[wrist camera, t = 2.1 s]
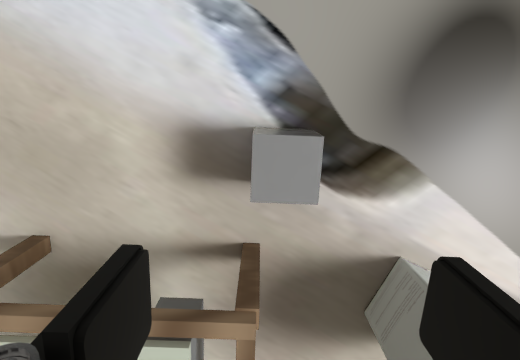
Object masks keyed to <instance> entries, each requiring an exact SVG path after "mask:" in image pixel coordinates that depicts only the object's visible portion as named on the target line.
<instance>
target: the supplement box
mask: <svg viewBox="0 0 520 360" xmlns="http://www.w3.org/2000/svg"><path fill="white" fill-rule="evenodd" d="M430 273H431V271H430V270H428V269H426V268H424V267H422V266H419V265H417V264H415V263H413V262H411V261H409V260H407V259H404V258H402V257H400V258H399V259H398V261H397V263H396V264H395V266H394V267H393V269H392V270H391V272H390V273H389V275H388V277H387V278H386V280H385V281H384V283H383V284H382V286H381V287H380V289H379V290H378V292H377V294H376V295H375V297H374V298H373V300H372V301H371V303H370V304H369V306H368V307H367V309H366V310H365V312H364V314H365V316H366V318H367V320H368V322H369V324H370V326H371V328H372V330H373V332H374V334H375V336H376V338H377V340H378V342H379V344H380V346H381V348H382V350H383V352H384V354H385V356H386V358H387V360H433V359H432V357H431V356H430V354H429V353H428V351H427V350H426V348H425V347H424V345H423V344H422V342H421V340H420V336H419V328H420V323H421V318H422V313H423V308H424V303H425V298H426V293H427V288H428V283H429V278H430Z"/></svg>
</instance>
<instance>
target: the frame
mask: <svg viewBox="0 0 520 360" xmlns="http://www.w3.org/2000/svg"><path fill="white" fill-rule="evenodd" d="M50 252H51V244H50V236H34V235H33V236H31V237H29V238H28V239H26V240H24V241H23V242H21V243H19V244H17V245H16V246H14V247H12V248H11V249H9V250H7V251H6V252H4V253H2V254H1V255H0V288H1V287H3V286H4V285H5V284H7V283H8V282H10V281H11V280H12V279H14V278H15V277H17V276H18V275H19V274H21V273H22V272H24V271H25V270H26V269H28V268H29V267H30V266H32V265H33V264H35V263H36V262H37V261H39V260H40V259H42V258H43V257H44V256H46V255H47V254H48V253H50ZM259 286H260V244H258V243H243V248H242V256H241V265H240V273H239V281H238V289H237V298H236V306H235V311H224V310H195V309H165V308H151V315H152V325H151V330H150V333H149V335H148V337H175V338H205V339H235V340H236V360H255V337H256V330H259ZM65 306H66V305H47V304H17V303H0V332H24V333H41V332H42V330H43V329H44V328H45V327H46V326H47V325H48V324H49V323H50V322H51V321H52V320H53V319H54V318H55V316H56V315H57V314H58V313H59V312H60V311H61V310H62V309H63V308H64V307H65Z"/></svg>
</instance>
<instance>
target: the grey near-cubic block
mask: <svg viewBox="0 0 520 360" xmlns="http://www.w3.org/2000/svg"><path fill="white" fill-rule="evenodd" d="M323 142H324V136H322V135H320V134H318V133H317V132H315V131H313V130H311V129H292V128H266V127H254V130H253V137H252V168H251V199H250V202H261V203H288V204H315V205H318V200H319V188H320V177H321V165H322V154H323Z"/></svg>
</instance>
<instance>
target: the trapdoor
mask: <svg viewBox="0 0 520 360" xmlns="http://www.w3.org/2000/svg"><path fill="white" fill-rule="evenodd" d="M155 308H165V309H195V310H203V299H193V298H164V297H161V298H160V300H159V301H158V303H157V305H156V307H155ZM36 337H37V336H14V335H0V346H1V345H5V344H9V343H17V342H21V343H29V344H31V342H32V341H33V340H34V339H35V338H36ZM137 360H204V338H175V337H147V340H146V342H145V344H144V346H143V348H142V350H141V353H140V355H139V357H138V359H137Z"/></svg>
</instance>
